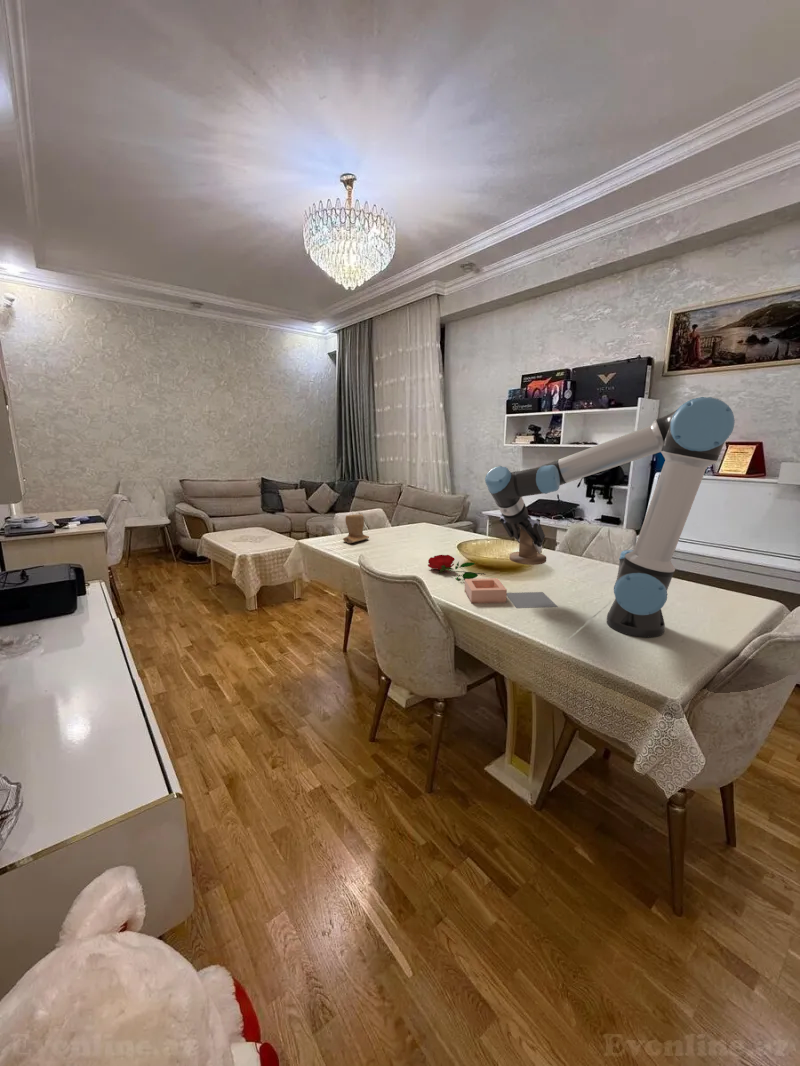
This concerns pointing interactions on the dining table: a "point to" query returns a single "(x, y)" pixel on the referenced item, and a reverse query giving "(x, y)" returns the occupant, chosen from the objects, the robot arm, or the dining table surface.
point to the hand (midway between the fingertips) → (533, 548)
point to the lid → (527, 551)
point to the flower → (445, 564)
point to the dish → (485, 590)
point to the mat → (530, 600)
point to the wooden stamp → (355, 528)
